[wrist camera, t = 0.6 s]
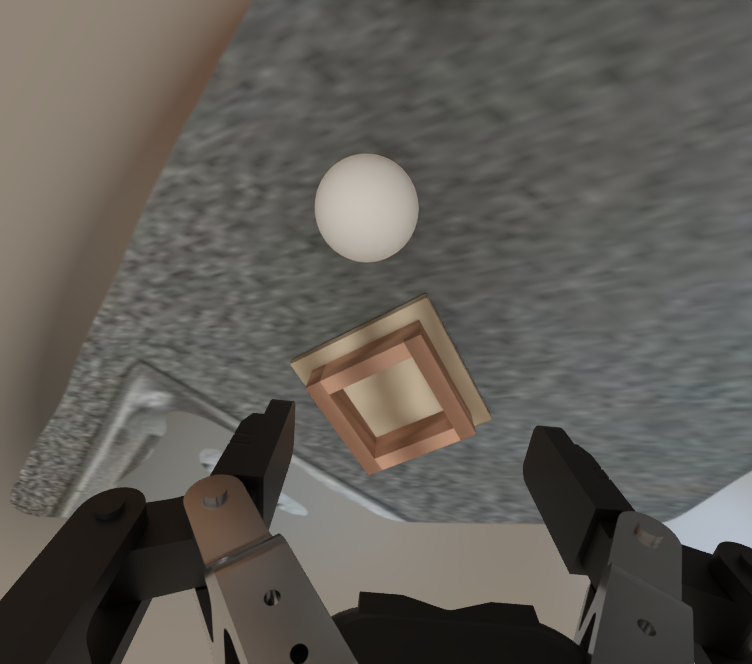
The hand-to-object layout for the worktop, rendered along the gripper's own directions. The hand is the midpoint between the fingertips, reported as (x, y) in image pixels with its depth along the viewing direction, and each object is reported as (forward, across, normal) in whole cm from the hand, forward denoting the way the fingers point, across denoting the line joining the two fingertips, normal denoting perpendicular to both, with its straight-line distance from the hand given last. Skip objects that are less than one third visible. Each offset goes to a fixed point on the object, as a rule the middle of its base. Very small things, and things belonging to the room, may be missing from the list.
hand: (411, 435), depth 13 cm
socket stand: (+22, -1, +10) cm, 25 cm away
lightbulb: (+21, +2, -7) cm, 22 cm away
